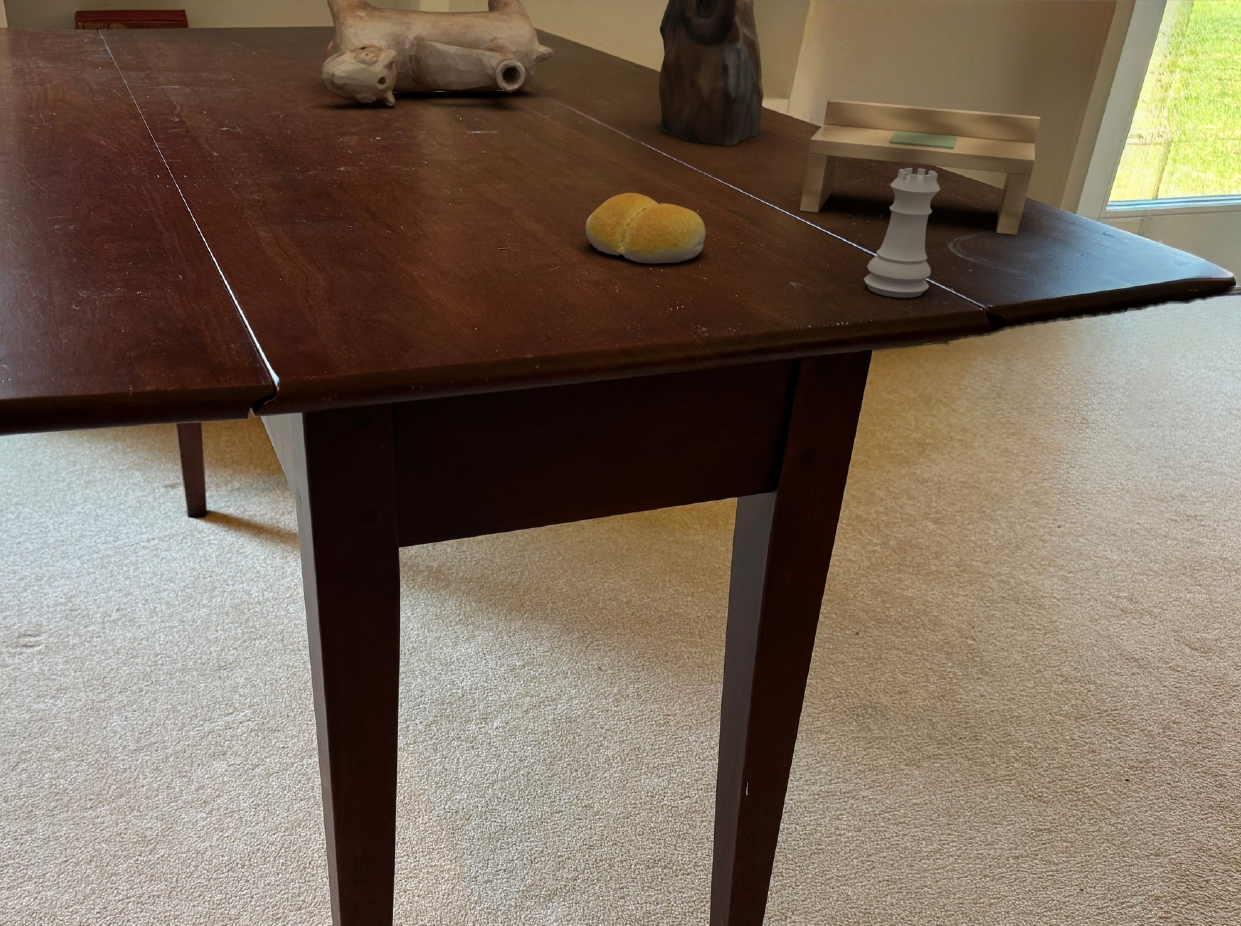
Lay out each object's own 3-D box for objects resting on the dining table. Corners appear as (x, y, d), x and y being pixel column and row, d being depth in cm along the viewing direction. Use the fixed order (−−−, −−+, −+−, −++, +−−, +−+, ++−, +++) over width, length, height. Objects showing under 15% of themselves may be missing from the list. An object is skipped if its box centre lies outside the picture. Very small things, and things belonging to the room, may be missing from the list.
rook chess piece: (937, 289, 81) (963, 172, 77) (912, 303, 78) (937, 182, 74) (878, 276, 83) (900, 162, 79) (851, 289, 80) (872, 171, 76)
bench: (1017, 211, 102) (1040, 116, 98) (1016, 235, 95) (1041, 133, 91) (815, 190, 107) (828, 99, 103) (799, 211, 100) (814, 113, 96)
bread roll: (667, 273, 83) (672, 217, 80) (569, 249, 87) (571, 195, 85) (726, 250, 88) (732, 197, 86) (630, 229, 93) (634, 178, 91)
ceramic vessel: (305, -39, 147) (328, 7, 128) (534, -13, 156) (586, 33, 137) (303, 67, 155) (324, 124, 136) (521, 85, 164) (569, 142, 145)
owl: (731, 149, 123) (755, -63, 113) (624, 136, 128) (637, -69, 118) (765, 131, 133) (790, -65, 123) (664, 120, 138) (680, -70, 127)
